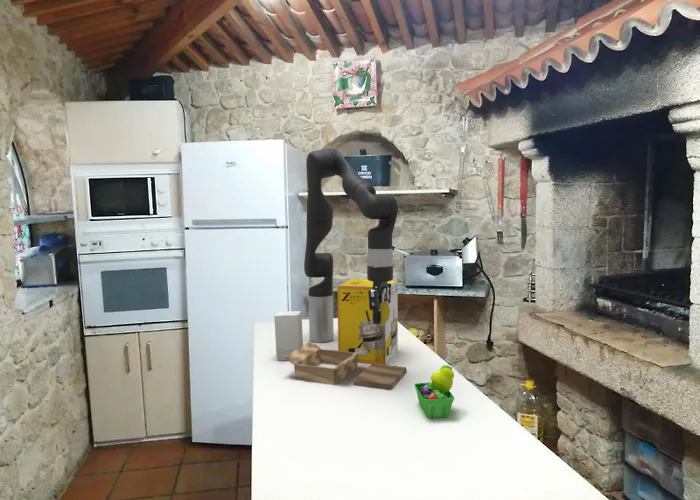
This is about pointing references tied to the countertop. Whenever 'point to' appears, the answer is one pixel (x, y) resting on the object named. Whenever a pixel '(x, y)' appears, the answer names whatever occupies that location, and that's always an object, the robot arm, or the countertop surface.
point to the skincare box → (288, 333)
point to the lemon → (383, 313)
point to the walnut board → (380, 376)
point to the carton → (314, 355)
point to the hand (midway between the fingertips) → (380, 321)
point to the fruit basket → (437, 393)
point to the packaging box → (366, 323)
